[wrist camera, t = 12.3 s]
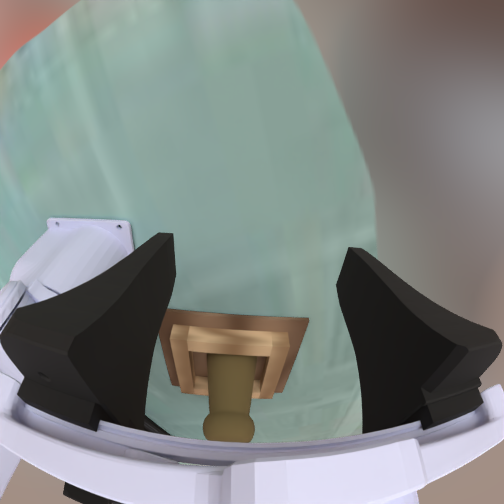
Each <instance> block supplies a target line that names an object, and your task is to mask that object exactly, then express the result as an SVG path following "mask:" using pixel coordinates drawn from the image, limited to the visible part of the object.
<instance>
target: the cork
mask: <svg viewBox="0 0 504 504" xmlns="http://www.w3.org/2000/svg"><path fill="white" fill-rule="evenodd" d="M256 363H257V356H247V355H230V354H216V353H207V374H208V394H209V411H210V413H209V414H208V415H207V417H206V418H205V420H204V422H203V432H204V436H205V437H206V439H207V440H209V441H221V442H240V443H249V442H250V441H251V440H252V438H253V435H254V432H255V426H254V422H253V420H252V419H251V417H250V416H249V412H250V405H251V398H252V392H253V385H254V378H255V371H256Z"/></svg>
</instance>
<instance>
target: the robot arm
mask: <svg viewBox="0 0 504 504" xmlns="http://www.w3.org/2000/svg"><path fill="white" fill-rule="evenodd" d="M58 223H59V224H58ZM118 225H121V227H122V228H120V227H119V226H118ZM47 226H48V230H47V231H46V232H45V233H44V234H43V235H42V236H41V237H40V238H39V239H38V240H37V241H36V242H35V243H34V244H33V245H32V246H31V247H30V248H29V249H28V250H27V251H26V252H25V253H24V254H23V256H22V257H21V258H20V259H19V260H18V261H17V263H16V264H15V266H14V268H13V270H12V273H11V276H10V281H9V282H8V283H7V284H6V285H5V286H4V287H3V288H2V289H1V290H0V500H1V497H2V495H3V493H4V491H5V489H6V487H7V485H8V483H9V481H10V479H11V477H12V475H13V473H14V471H15V470H16V468H17V466H18V464H19V462H20V460H21V459H24V460H25V461H27V462H29V463H30V464H33V465H34V466H36V467H37V468H39V469H41V470H43V471H45V472H47V473H49V474H51V475H53V476H55V477H57V478H59V479H61V480H63V481H65V482H67V483H69V484H72V485H74V486H76V487H79V488H81V489H84V490H86V491H89V492H91V493H94V494H97V495H99V496H102V497H105V498H108V499H111V500H114V501H117V502H120V503H124V504H419V501H418V495H417V490H419V489H421V488H423V487H425V485H426V484H428V483H430V482H432V481H434V480H437V479H439V478H441V477H443V476H445V475H446V474H448V473H450V472H452V471H454V470H456V469H458V468H460V467H462V466H463V465H465V464H467V463H468V462H470V461H472V460H473V459H475V458H477V457H478V456H480V455H482V454H483V453H485V452H486V451H488V450H489V449H491V448H492V447H494V446H495V445H496V444H498V443H499V442H501V441H502V440H503V439H504V392H503V389H502V387H501V385H500V384H497V385H495V386H492V387H490V388H488V389H486V390H484V391H483V392H481V393H480V392H479V390H478V387H480V386H481V381H480V379H479V377H480V376H481V375H482V374H483V373H484V372H485V370H487V368H488V367H489V366H490V365H491V364H492V363H493V362H494V360H495V359H496V358H497V356H498V355H499V353H500V351H501V348H502V342H501V340H500V339H499V337H498V335H497V334H496V333H495V331H494V330H492V329H489V328H487V327H484V326H481V325H479V324H476V323H473V322H471V321H469V320H467V319H464V318H462V317H460V316H458V315H456V314H454V313H452V312H450V311H448V310H446V309H445V308H443V307H441V306H439V305H438V304H436V303H434V302H433V301H431V300H430V299H428V298H427V297H425V296H424V295H422V294H421V293H419V292H418V291H416V290H415V289H414V288H412V287H411V286H410V285H408V284H407V283H406V282H404V281H403V280H402V279H401V278H399V277H398V276H397V275H396V274H394V273H393V272H392V271H391V270H389V269H388V268H387V267H386V266H385V265H383V264H382V263H381V262H380V261H378V260H377V259H376V258H375V257H373V256H372V255H371V254H369V253H368V252H367V251H365V250H363V249H362V248H353V247H348V251H347V254H346V257H345V260H344V263H343V266H342V269H341V272H340V275H339V278H338V281H337V284H336V287H337V293H338V298H339V303H340V307H341V310H342V313H343V316H344V319H345V322H346V325H347V328H348V331H349V334H350V337H351V340H352V344H353V347H354V351H355V354H356V360H357V365H358V371H359V379H360V387H361V397H362V420H363V427H362V434H359V435H353V436H347V437H340V438H332V439H324V440H314V441H301V442H282V443H240V442H221V441H209V440H198V439H190V438H182V437H175V436H169V435H163V434H157V433H152V432H147V431H144V418H145V405H146V396H147V388H148V381H149V374H150V368H151V362H152V357H153V352H154V347H155V343H156V340H157V336H158V333H159V330H160V327H161V324H162V321H163V319H164V316H165V313H166V310H167V307H168V304H169V301H170V299H171V296H172V292H173V287H174V282H175V278H176V266H175V252H174V237H173V233H157V234H156V235H154V236H153V237H152V238H150V239H149V240H148V241H146V242H145V243H144V244H142V245H141V246H140V247H138V248H137V249H136V250H134V244H133V238H132V230H131V225H130V223H129V222H128V221H125V220H103V219H77V218H49V219H48V220H47ZM178 462H183V463H191V464H199V465H210V466H198V465H182V464H179V463H178Z"/></svg>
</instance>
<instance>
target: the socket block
mask: <svg viewBox="0 0 504 504" xmlns="http://www.w3.org/2000/svg"><path fill="white" fill-rule="evenodd" d="M308 323H309V318H292V317H267V316H249V315H233V314H220V313H207V312H196V311H186V310H176V309H167V310H166V313H165V316H164V319H163V321H162V324H161V327H160V330H159V336H160V341H161V345H162V349H163V353H164V357H165V361H166V365H167V369H168V372H169V376H170V380H171V383H172V385H174V386H180V388H181V392H182V393H188V394H197V395H207V396H209V394H208V374H207V353H216V354H230V355H247V356H257V363H256V371H255V378H254V385H253V392H252V398H260V399H272V397H273V394H274V393H282V392H283V389H284V387H285V384H286V382H287V379H288V377H289V374H290V372H291V369H292V367H293V364H294V361H295V359H296V356H297V353H298V351H299V348H300V345H301V342H302V340H303V337H304V334H305V331H306V328H307V326H308Z"/></svg>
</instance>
